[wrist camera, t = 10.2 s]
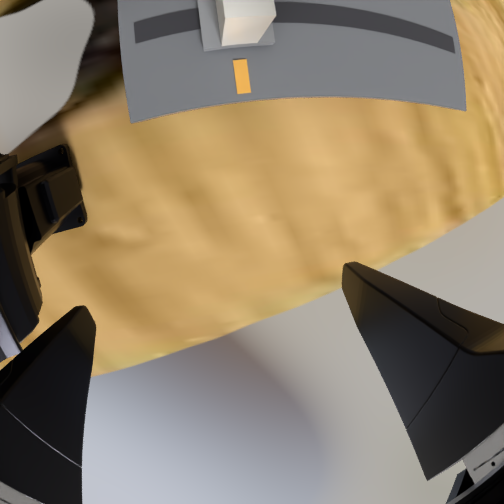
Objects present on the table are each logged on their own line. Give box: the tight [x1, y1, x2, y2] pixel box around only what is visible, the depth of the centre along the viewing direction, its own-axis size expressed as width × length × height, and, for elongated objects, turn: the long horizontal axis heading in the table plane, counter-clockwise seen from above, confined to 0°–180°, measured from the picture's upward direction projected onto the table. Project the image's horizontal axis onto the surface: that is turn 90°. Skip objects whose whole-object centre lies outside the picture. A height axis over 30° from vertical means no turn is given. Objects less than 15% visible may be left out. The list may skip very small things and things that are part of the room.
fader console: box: [118, 0, 466, 123], centre depth 13 cm, size 26×12×2 cm, turn 97°
